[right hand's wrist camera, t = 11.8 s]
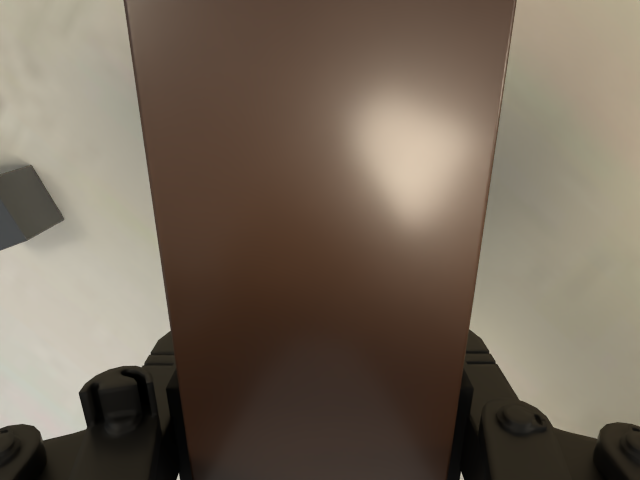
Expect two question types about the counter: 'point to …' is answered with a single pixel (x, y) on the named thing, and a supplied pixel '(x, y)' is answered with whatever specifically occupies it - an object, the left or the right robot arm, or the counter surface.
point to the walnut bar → (319, 222)
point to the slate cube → (24, 207)
